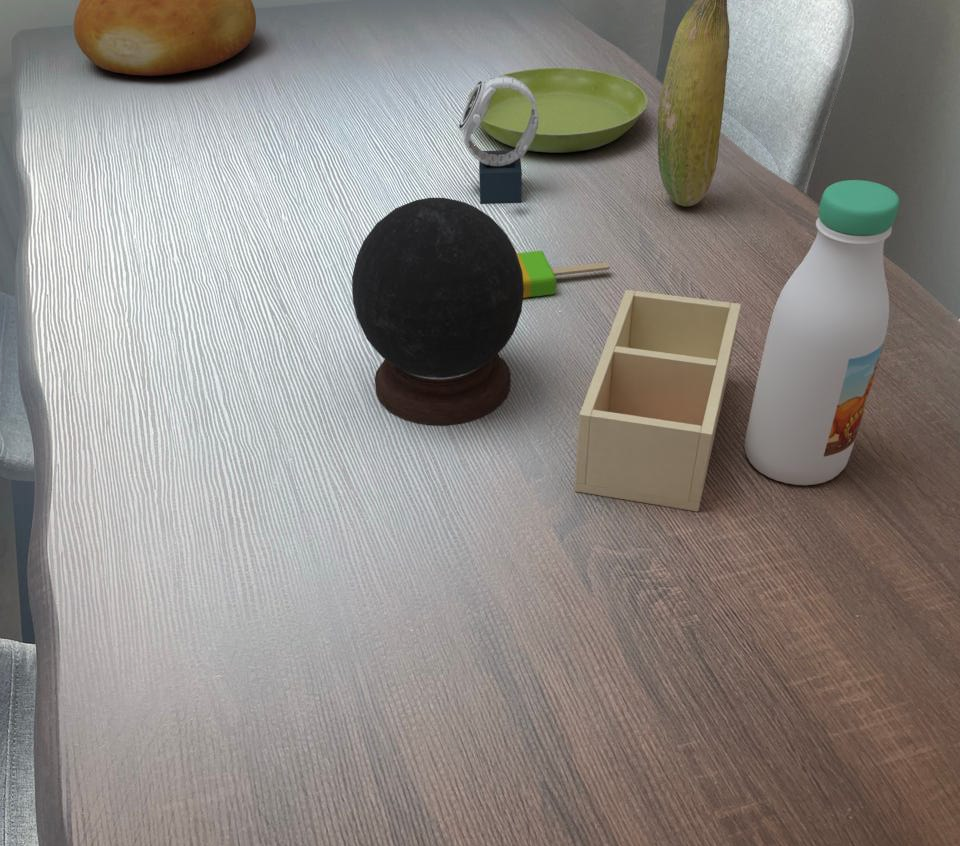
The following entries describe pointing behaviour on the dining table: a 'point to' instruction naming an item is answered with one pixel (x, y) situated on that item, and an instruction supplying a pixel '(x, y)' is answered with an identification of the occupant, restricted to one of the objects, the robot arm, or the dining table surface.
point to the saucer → (565, 109)
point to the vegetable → (693, 102)
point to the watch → (500, 166)
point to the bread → (162, 33)
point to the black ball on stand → (439, 309)
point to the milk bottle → (824, 341)
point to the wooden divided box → (656, 400)
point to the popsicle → (547, 273)
